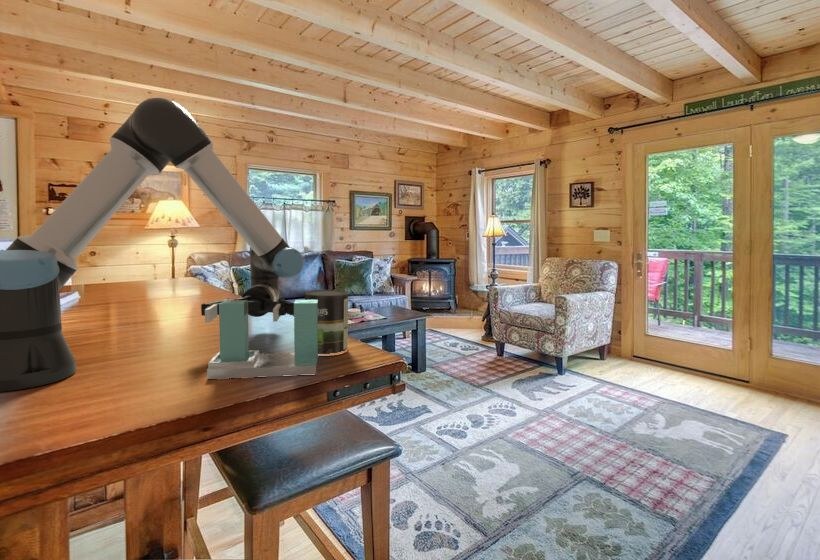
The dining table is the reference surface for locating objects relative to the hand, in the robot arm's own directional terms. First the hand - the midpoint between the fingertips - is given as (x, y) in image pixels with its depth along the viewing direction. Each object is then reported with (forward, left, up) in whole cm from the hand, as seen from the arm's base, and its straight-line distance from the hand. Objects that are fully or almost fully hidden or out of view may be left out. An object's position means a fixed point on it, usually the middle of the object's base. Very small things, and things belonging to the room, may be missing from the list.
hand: (241, 315), depth 91 cm
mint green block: (0, -5, -8) cm, 10 cm away
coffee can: (+18, +8, -10) cm, 22 cm away
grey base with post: (+6, -5, -10) cm, 13 cm away
